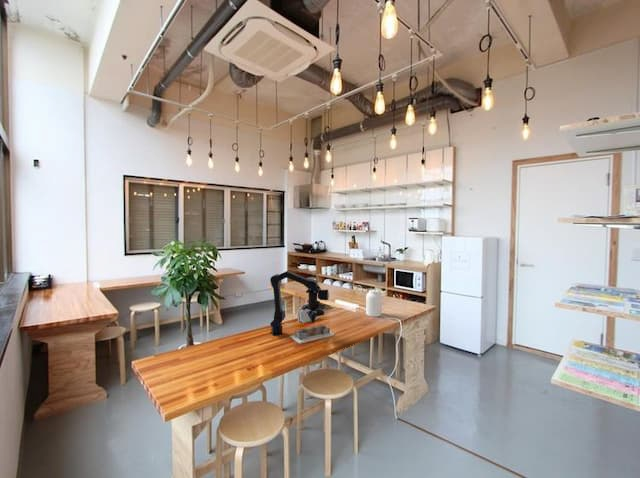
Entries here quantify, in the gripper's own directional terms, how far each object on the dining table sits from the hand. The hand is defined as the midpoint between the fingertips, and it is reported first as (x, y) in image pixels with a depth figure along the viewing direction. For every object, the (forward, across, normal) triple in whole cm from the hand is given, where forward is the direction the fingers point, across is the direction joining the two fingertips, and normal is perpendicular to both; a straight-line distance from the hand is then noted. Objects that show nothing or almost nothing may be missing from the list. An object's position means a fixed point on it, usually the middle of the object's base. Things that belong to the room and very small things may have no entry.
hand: (312, 322), depth 198 cm
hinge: (+9, +31, -14) cm, 36 cm away
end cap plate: (+9, 0, 0) cm, 9 cm away
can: (+9, +14, -67) cm, 69 cm away
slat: (+8, 0, 0) cm, 8 cm away
